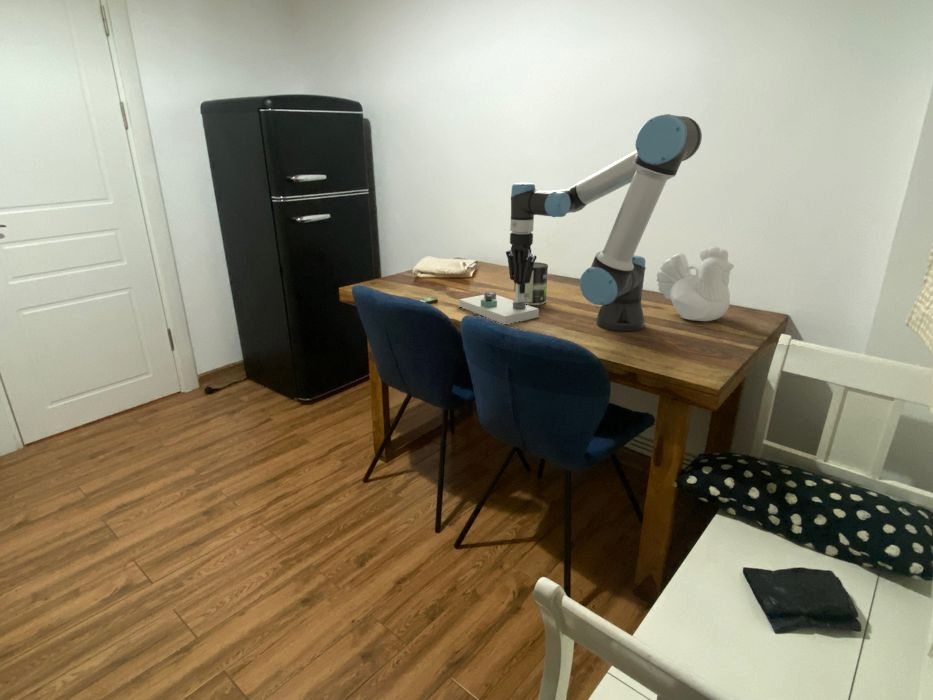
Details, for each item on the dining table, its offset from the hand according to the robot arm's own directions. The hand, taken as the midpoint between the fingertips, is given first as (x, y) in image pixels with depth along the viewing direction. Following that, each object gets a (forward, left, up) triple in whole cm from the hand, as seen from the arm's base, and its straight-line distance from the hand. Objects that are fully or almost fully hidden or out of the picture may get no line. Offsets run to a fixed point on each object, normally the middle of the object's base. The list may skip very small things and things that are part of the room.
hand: (519, 301), depth 187 cm
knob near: (0, 0, -5) cm, 5 cm away
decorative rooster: (-35, -47, -5) cm, 59 cm away
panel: (+8, +3, -5) cm, 10 cm away
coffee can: (+11, -16, -5) cm, 21 cm away
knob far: (+16, 0, -5) cm, 17 cm away
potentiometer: (+8, +7, -2) cm, 11 cm away
